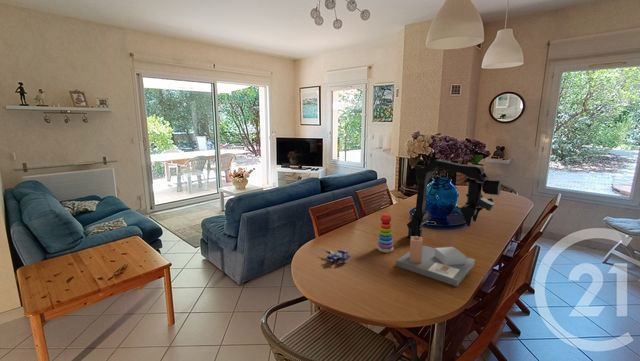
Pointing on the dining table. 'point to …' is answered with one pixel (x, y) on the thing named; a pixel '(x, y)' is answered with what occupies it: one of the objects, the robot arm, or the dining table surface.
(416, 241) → the pillar block
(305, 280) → the dining table surface
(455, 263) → the base block
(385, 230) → the stacking toy
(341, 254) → the toy airplane
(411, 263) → the board
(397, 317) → the dining table surface
